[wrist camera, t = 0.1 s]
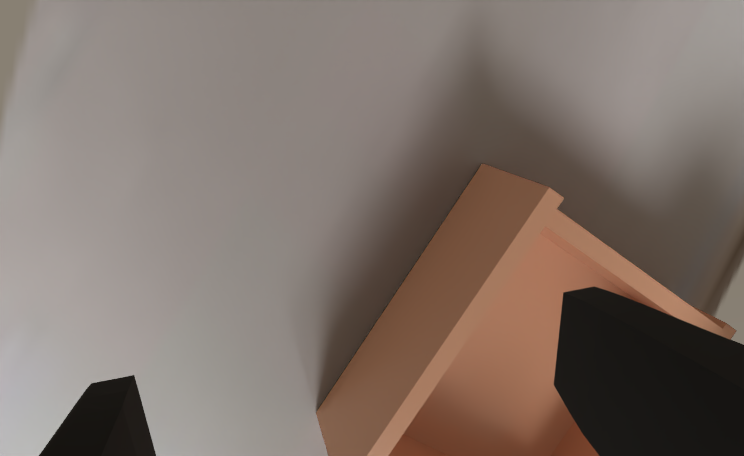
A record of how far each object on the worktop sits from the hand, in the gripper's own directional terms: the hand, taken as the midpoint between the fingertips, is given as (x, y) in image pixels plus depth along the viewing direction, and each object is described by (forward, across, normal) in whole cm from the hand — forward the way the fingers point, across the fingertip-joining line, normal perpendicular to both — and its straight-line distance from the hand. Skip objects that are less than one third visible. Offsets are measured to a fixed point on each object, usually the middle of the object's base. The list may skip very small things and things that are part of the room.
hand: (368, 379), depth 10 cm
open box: (+9, -7, +8) cm, 14 cm away
